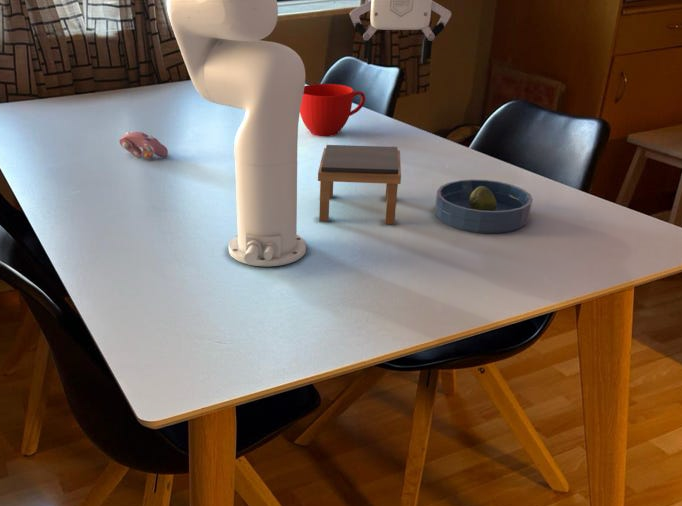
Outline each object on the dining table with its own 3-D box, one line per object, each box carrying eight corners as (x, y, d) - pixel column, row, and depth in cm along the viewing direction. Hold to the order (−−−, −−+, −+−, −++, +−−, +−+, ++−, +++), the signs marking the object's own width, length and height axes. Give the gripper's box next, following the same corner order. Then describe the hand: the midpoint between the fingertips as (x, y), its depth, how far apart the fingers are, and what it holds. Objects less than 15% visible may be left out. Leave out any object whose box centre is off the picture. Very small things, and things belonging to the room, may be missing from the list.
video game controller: (125, 161, 162) (112, 137, 156) (135, 147, 164) (123, 123, 158) (161, 168, 158) (150, 143, 152) (171, 153, 160) (160, 128, 154)
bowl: (535, 236, 121) (539, 214, 119) (437, 232, 123) (440, 210, 121) (520, 201, 135) (524, 181, 133) (432, 198, 137) (434, 177, 134)
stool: (396, 225, 126) (401, 170, 120) (316, 222, 127) (318, 167, 122) (395, 197, 137) (400, 146, 132) (322, 194, 139) (324, 143, 134)
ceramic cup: (375, 135, 172) (378, 91, 167) (311, 143, 167) (312, 98, 162) (350, 121, 182) (352, 80, 177) (289, 129, 177) (289, 86, 172)
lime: (469, 207, 131) (473, 180, 128) (496, 211, 130) (501, 184, 127) (465, 216, 128) (469, 189, 125) (493, 219, 126) (498, 192, 124)
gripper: (352, -45, 117) (347, 67, 126) (460, -45, 115) (447, 68, 125) (352, -48, 123) (348, 58, 132) (455, -49, 121) (443, 59, 131)
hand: (396, 63), depth 129 cm, fingers open, 9 cm apart
